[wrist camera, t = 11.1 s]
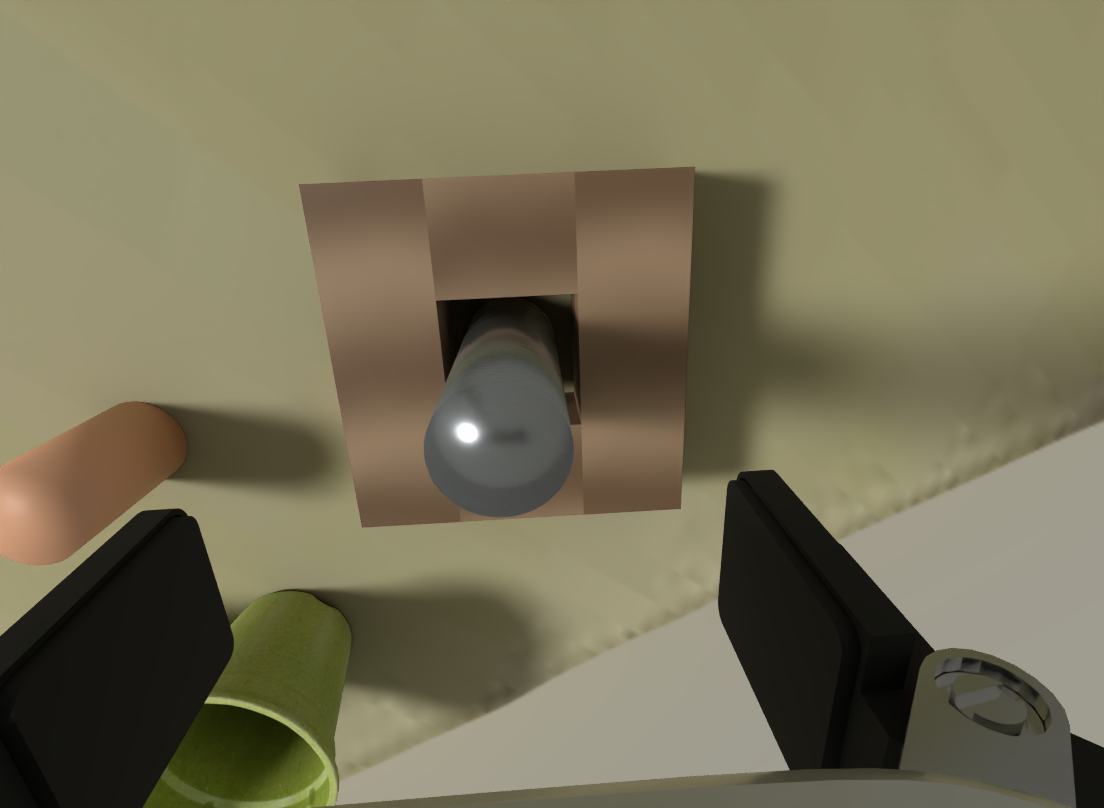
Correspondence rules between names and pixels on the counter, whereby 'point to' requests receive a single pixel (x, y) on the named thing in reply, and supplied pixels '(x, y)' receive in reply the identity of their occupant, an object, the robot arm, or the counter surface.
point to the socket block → (509, 271)
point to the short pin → (85, 481)
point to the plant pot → (267, 714)
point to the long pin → (502, 415)
